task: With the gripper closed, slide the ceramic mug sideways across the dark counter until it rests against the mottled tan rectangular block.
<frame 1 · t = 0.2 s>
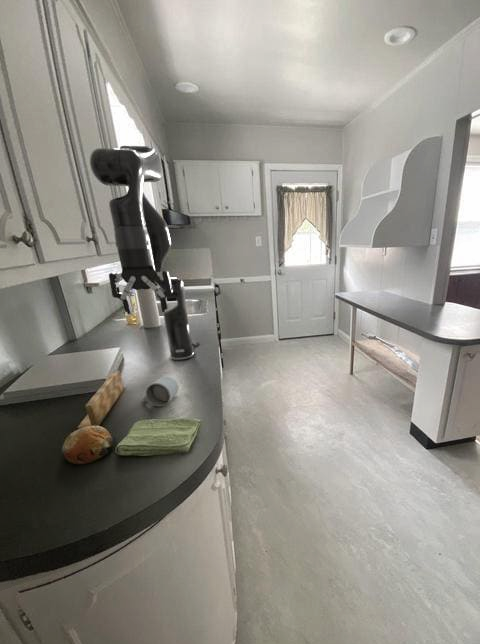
hand: (147, 312, 80), 29 cm above the countertop, tool pointing down, fingers open, 8 cm apart
bread roll: (91, 452, 73), on the countertop
washcloth: (162, 440, 77), on the countertop
mottled tan rectangular block: (109, 406, 93), on the countertop
ceramic mug: (161, 401, 96), on the countertop
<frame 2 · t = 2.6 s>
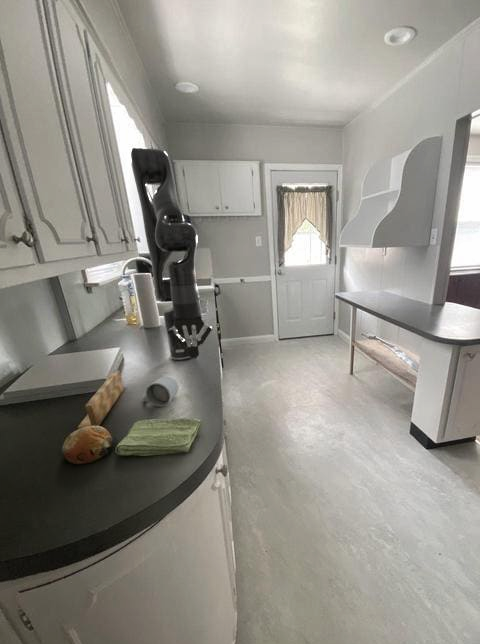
hand: (194, 357, 93), 14 cm above the countertop, tool pointing down, fingers closed
nothing on the countertop moved.
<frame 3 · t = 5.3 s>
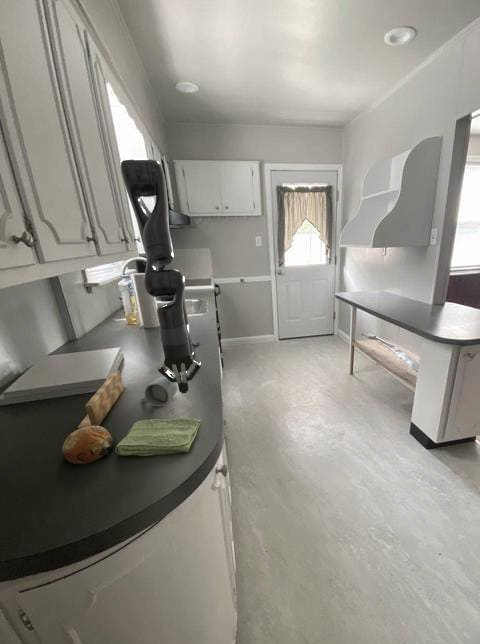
hand: (184, 392, 96), 2 cm above the countertop, tool pointing down, fingers closed
ceramic mug: (160, 401, 96), on the countertop, touching gripper
everything else where it was.
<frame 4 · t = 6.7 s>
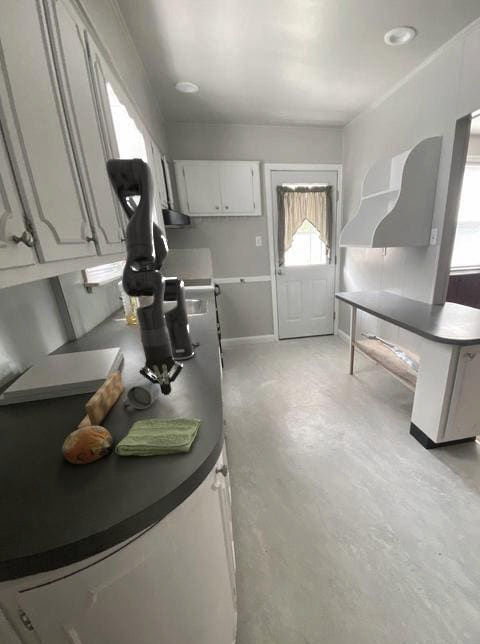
hand: (167, 393, 95), 2 cm above the countertop, tool pointing down, fingers closed
ceramic mug: (142, 403, 94), on the countertop, touching gripper
everything else where it was.
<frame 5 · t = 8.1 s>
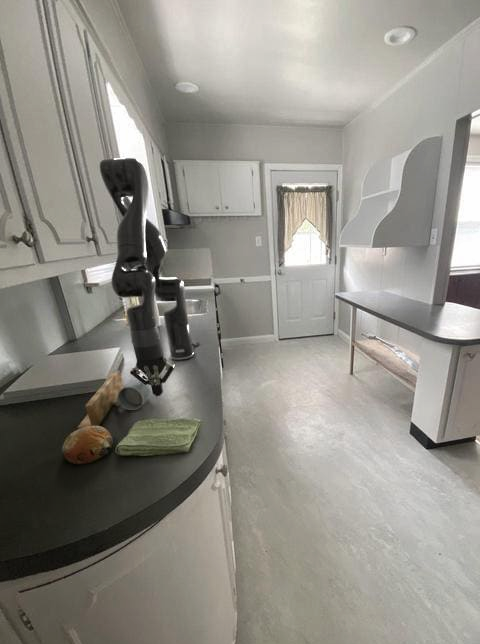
hand: (158, 394, 95), 2 cm above the countertop, tool pointing down, fingers closed
ceramic mug: (134, 405, 94), on the countertop, touching gripper
everything else where it was.
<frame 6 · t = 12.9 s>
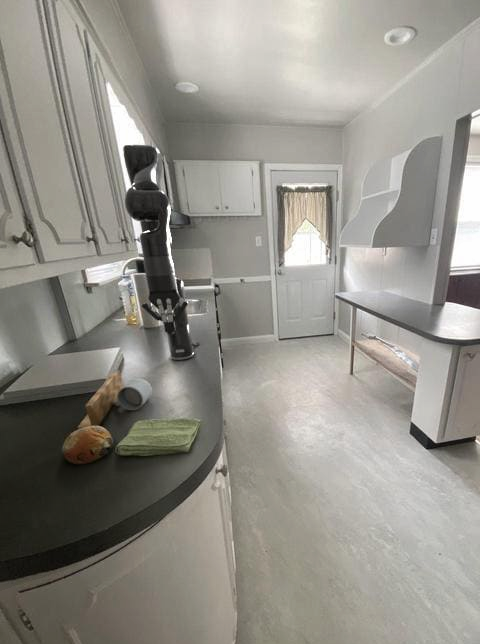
hand: (170, 333, 90), 21 cm above the countertop, tool pointing down, fingers closed
ceramic mug: (133, 405, 94), on the countertop
everything else where it was.
at the end: ceramic mug inside the target area (1.1 cm from its centre), on the countertop; ceramic mug moved 8.0 cm from its start; ceramic mug tilted 0° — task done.
